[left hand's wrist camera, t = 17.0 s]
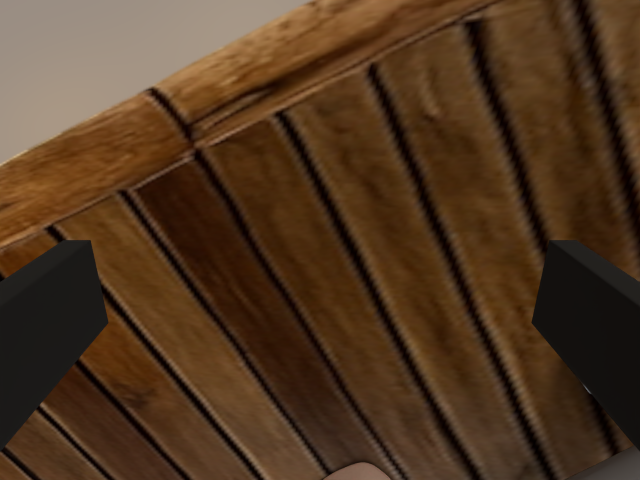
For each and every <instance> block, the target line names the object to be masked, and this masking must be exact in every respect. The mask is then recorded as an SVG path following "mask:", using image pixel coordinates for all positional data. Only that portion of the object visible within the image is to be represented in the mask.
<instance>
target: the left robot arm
mask: <svg viewBox="0 0 640 480" xmlns="http://www.w3.org/2000/svg"><path fill="white" fill-rule="evenodd" d="M107 324H108V318H107V314H106V309H105V305H104V300H103V295H102V291H101V286H100V282H99V277H98V272H97V268H96V263H95V259H94V254H93V250H92V245H91V240H63V241H62V242H60V243H59V244H57V245H56V246H54V247H53V248H51V249H50V250H48V251H47V252H45V253H44V254H42V255H41V256H39V257H38V258H36V259H35V260H33V261H32V262H30V263H29V264H27V265H26V266H24V267H23V268H21V269H19V270H18V271H16V272H15V273H13V274H12V275H10V276H9V277H7V278H6V279H4V280H3V281H1V282H0V451H1V450H2V449H3V448H4V446H5V445H6V444H7V443H8V442H9V441H10V439H11V438H12V437H13V436H14V435H15V433H16V432H17V431H18V430H19V429H20V427H21V426H22V425H23V424H24V423H25V422H26V420H27V419H28V418H29V417H30V416H31V414H32V413H33V412H34V411H35V410H36V408H37V407H38V406H39V405H40V404H41V402H42V401H43V400H44V399H45V398H46V397H47V395H48V394H49V393H50V392H51V391H52V389H53V388H54V387H55V386H56V385H57V383H58V382H59V381H60V380H61V379H62V377H63V376H64V375H65V374H66V373H67V372H68V370H69V369H70V368H71V367H72V366H73V364H74V363H75V362H76V361H77V360H78V358H79V357H80V356H81V355H82V354H83V352H84V351H85V350H86V349H87V348H88V347H89V345H90V344H91V343H92V342H93V341H94V339H95V338H96V337H97V336H98V335H99V333H100V332H101V331H102V330H103V329H104V327H105V326H106V325H107ZM532 324H533V325H534V326H535V327H536V329H537V330H538V331H539V332H540V333H541V335H542V336H543V337H544V338H545V339H546V341H547V342H548V343H549V344H550V345H551V347H552V348H553V349H554V350H555V351H556V352H557V354H558V355H559V356H560V357H561V358H562V360H563V361H564V362H565V363H566V364H567V366H568V367H569V368H570V369H571V370H572V372H573V373H574V374H575V375H576V376H577V378H578V379H579V381H580V382H581V383H582V384H583V386H584V387H585V388H586V389H587V390H588V391H589V392H590V393H591V394H592V395H593V397H594V398H595V399H596V400H597V401H598V402H599V404H600V405H601V406H602V407H603V408H604V410H605V411H606V412H607V413H608V414H609V416H610V417H611V418H612V419H613V420H614V422H615V423H616V424H617V425H618V426H619V427H620V429H621V430H622V431H623V432H624V433H625V435H626V436H627V437H628V438H629V439H630V441H631V442H632V443H633V444H634V446H632V447H630V448H628V449H626V450H624V451H622V452H620V453H618V454H616V455H614V456H612V457H610V458H608V459H606V460H604V461H602V462H600V463H598V464H596V465H594V466H592V467H590V468H588V469H586V470H584V471H582V472H580V473H578V474H575V475H573V476H571V477H569V478H567V479H565V480H640V282H639V281H637V280H636V279H634V278H633V277H631V276H630V275H628V274H627V273H625V272H624V271H622V270H621V269H619V268H617V267H616V266H614V265H613V264H611V263H610V262H608V261H607V260H605V259H604V258H602V257H601V256H599V255H598V254H596V253H595V252H593V251H592V250H590V249H589V248H587V247H586V246H584V245H583V244H581V243H580V242H578V241H577V240H549V245H548V250H547V254H546V259H545V263H544V268H543V272H542V277H541V282H540V286H539V291H538V295H537V300H536V305H535V309H534V314H533V318H532Z"/></svg>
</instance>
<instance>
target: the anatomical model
mask: <svg viewBox="0 0 640 480" xmlns="http://www.w3.org/2000/svg"><path fill="white" fill-rule="evenodd" d="M323 480H391V479H390V478H389V477H388V476H387V475H386V474H385V473H383V472H382V471H381V470H380V469H378V468H377V467H375V466H374V465H372V464H369V463H365V462H361V463H356V464H353V465H350V466H347V467H345V468H343V469H340V470H338V471H336V472H334V473H332V474H331V475H329V476H327V477H326V478H324V479H323Z"/></svg>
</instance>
